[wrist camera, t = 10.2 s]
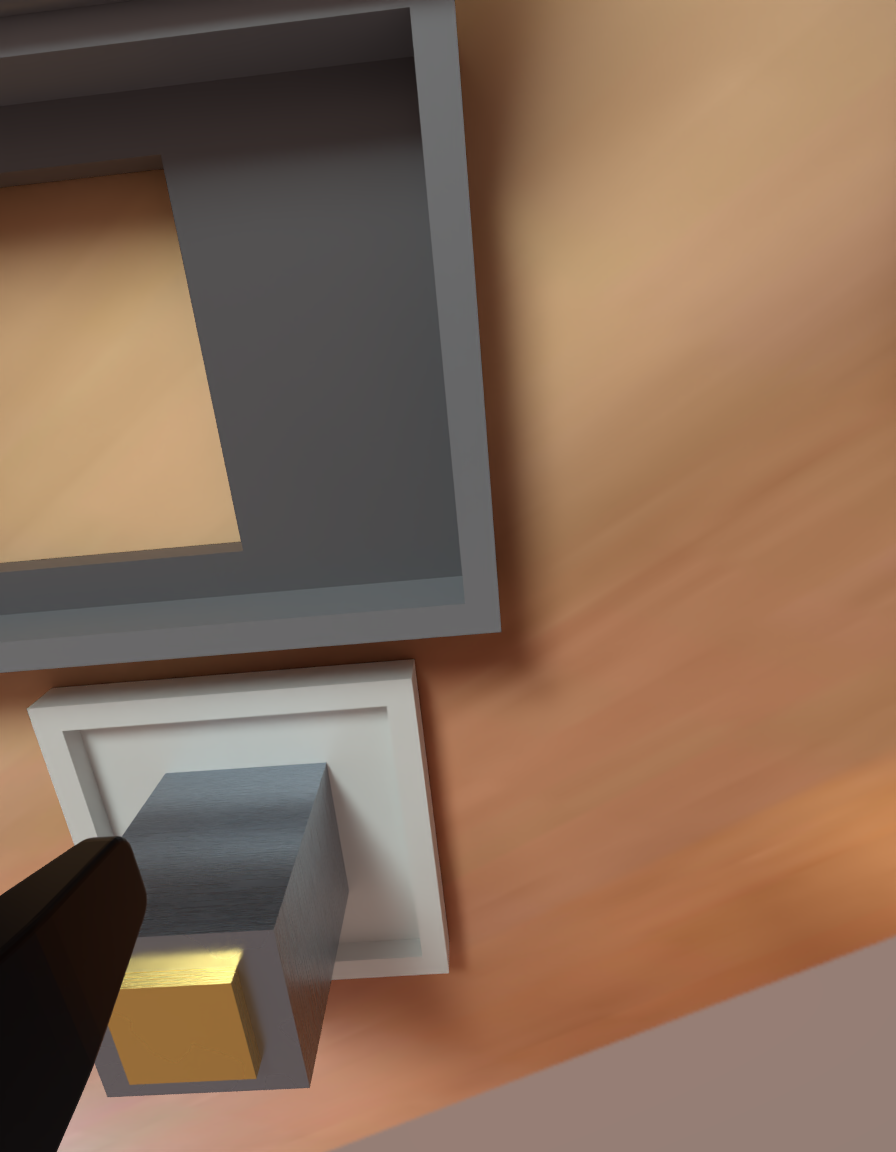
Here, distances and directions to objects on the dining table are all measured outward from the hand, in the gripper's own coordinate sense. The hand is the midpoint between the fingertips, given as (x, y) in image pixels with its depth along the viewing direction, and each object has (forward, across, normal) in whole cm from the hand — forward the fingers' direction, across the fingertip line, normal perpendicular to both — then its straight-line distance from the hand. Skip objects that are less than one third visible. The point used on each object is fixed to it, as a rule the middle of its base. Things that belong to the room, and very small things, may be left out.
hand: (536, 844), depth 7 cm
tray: (+11, +8, +9) cm, 16 cm away
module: (+11, +8, +9) cm, 16 cm away
